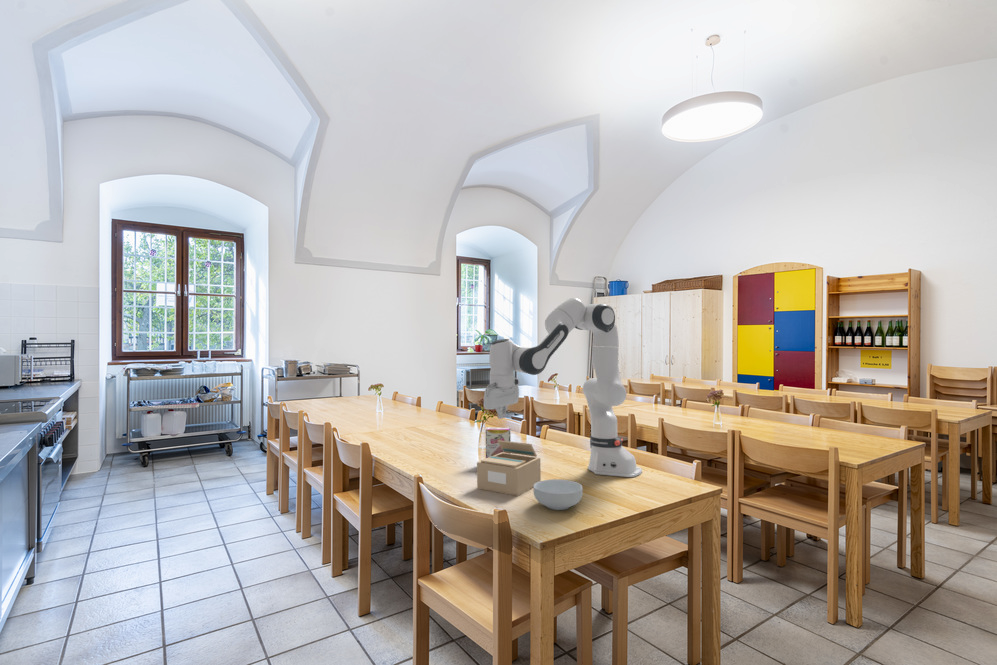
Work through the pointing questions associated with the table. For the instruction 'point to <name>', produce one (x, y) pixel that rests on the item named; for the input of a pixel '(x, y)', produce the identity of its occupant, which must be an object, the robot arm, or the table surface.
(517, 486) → the carton
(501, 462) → the flap
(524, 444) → the cardboard box flap
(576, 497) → the cereal bowl
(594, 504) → the table surface
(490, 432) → the candy bar box
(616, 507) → the table surface
